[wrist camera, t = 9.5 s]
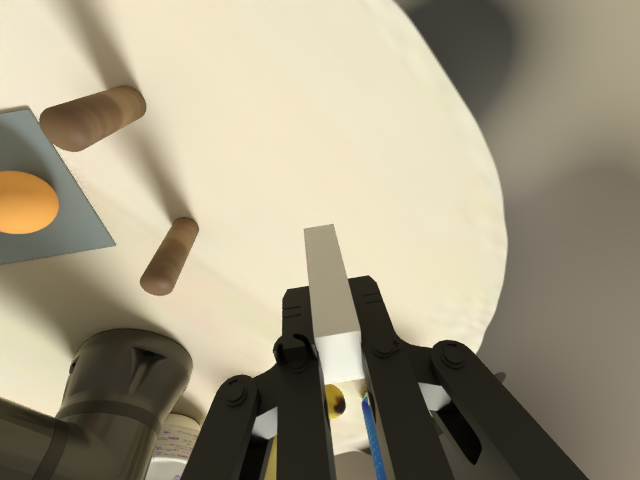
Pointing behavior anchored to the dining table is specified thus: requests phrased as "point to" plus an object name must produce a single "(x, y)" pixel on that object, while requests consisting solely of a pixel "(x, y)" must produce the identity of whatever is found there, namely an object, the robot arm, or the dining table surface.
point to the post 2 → (170, 258)
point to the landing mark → (44, 162)
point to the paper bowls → (173, 448)
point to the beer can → (373, 440)
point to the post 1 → (91, 117)
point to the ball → (25, 203)
